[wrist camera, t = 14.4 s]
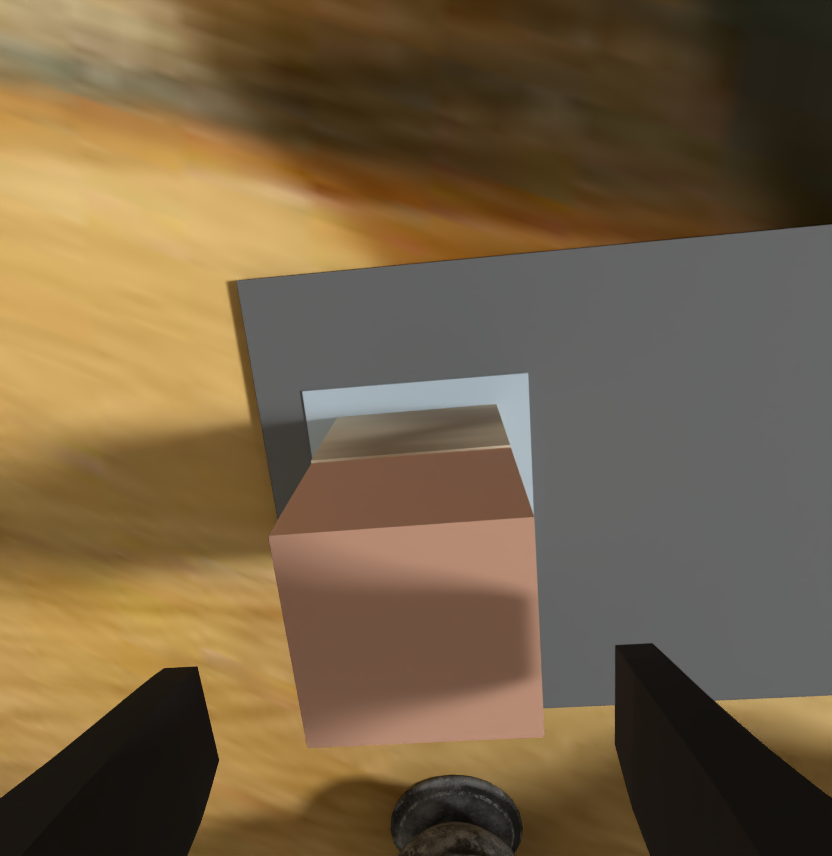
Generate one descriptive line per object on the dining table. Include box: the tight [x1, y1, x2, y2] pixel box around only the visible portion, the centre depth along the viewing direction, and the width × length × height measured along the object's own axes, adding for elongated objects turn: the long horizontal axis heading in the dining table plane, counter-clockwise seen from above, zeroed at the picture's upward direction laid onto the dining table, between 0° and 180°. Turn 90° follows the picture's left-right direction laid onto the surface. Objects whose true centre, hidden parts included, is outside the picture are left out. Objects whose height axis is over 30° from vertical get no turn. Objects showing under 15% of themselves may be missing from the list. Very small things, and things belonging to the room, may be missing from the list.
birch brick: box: [311, 404, 510, 463], centre depth 18 cm, size 5×5×4 cm
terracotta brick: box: [268, 447, 545, 748], centre depth 14 cm, size 5×5×4 cm
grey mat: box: [237, 224, 832, 708], centre depth 20 cm, size 20×16×1 cm
